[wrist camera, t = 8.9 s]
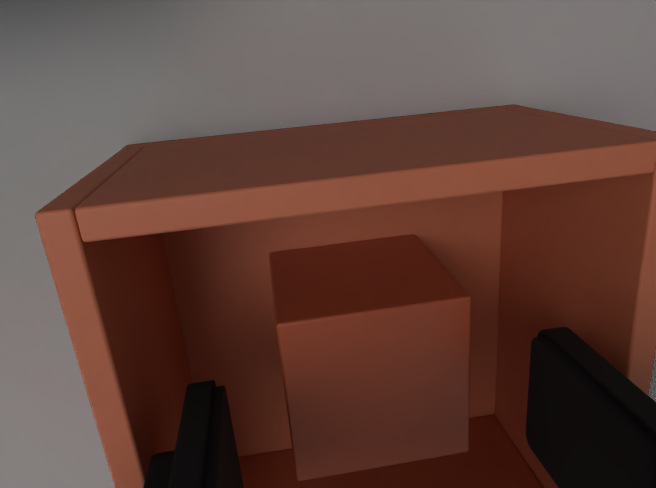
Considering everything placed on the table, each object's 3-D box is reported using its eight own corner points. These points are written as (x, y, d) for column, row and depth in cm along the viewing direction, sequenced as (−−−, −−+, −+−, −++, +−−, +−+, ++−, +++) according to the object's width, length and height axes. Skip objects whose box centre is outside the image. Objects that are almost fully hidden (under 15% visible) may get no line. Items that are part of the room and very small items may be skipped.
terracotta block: (414, 233, 16) (472, 296, 12) (417, 358, 17) (469, 453, 13) (268, 251, 15) (275, 324, 11) (285, 378, 17) (296, 483, 13)
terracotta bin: (514, 104, 15) (691, 136, 9) (501, 414, 19) (619, 581, 13) (126, 144, 14) (31, 213, 8) (196, 465, 18) (169, 676, 12)
